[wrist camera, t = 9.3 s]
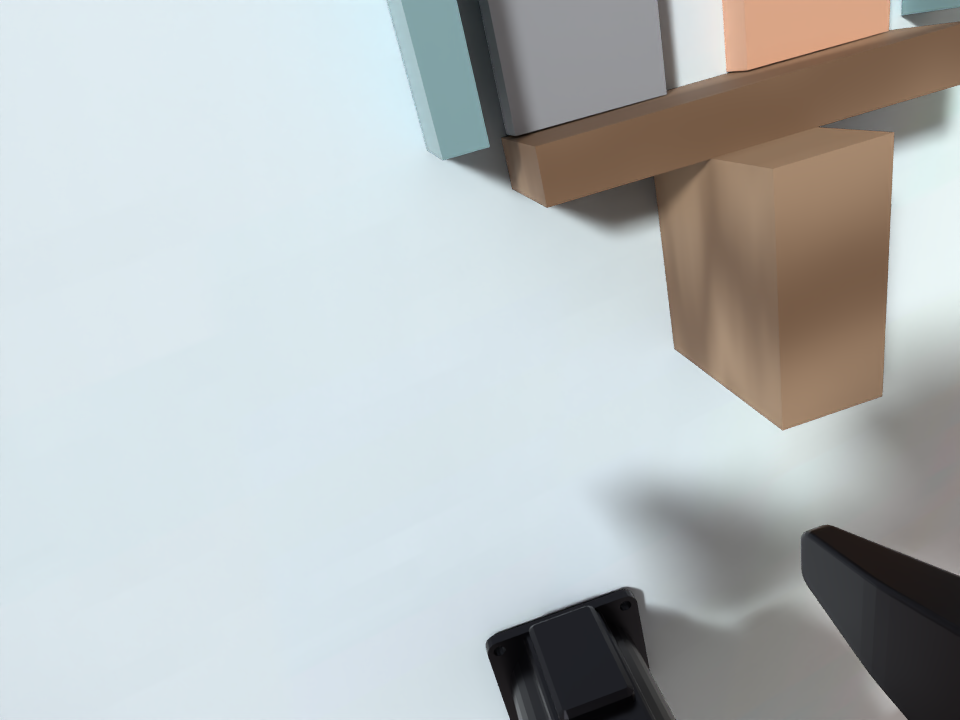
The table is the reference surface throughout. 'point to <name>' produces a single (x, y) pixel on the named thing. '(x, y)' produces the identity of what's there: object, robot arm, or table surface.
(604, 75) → the tile slate
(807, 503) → the table surface
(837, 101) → the scraper
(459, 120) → the teal corner frame
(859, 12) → the tile terracotta
